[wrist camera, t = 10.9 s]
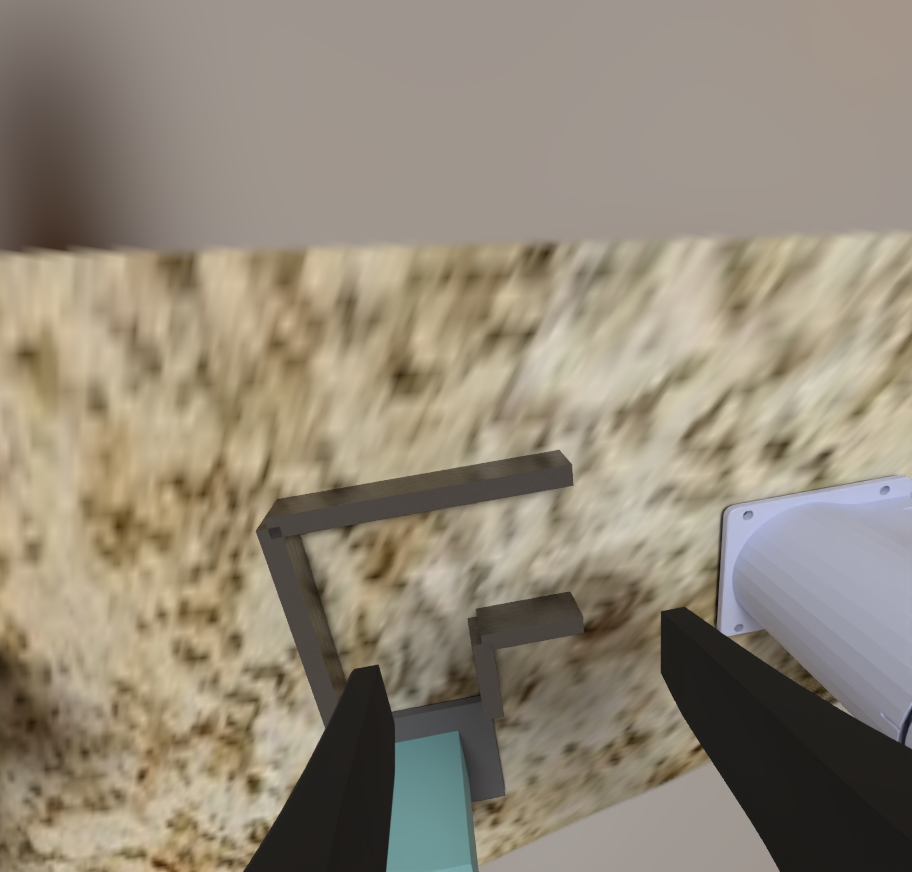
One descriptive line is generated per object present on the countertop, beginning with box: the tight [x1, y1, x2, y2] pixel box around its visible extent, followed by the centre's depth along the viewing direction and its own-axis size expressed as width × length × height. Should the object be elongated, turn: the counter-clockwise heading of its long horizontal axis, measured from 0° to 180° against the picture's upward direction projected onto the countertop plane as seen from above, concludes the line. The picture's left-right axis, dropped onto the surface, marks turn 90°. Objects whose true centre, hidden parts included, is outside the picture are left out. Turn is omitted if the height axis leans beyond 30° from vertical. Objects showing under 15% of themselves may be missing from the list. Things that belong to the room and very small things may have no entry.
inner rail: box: [468, 592, 584, 720], centre depth 23 cm, size 6×6×2 cm
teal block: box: [386, 731, 479, 872], centre depth 22 cm, size 4×4×6 cm
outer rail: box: [256, 450, 573, 729], centre depth 21 cm, size 14×14×2 cm
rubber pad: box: [392, 695, 505, 802], centre depth 25 cm, size 8×8×1 cm
